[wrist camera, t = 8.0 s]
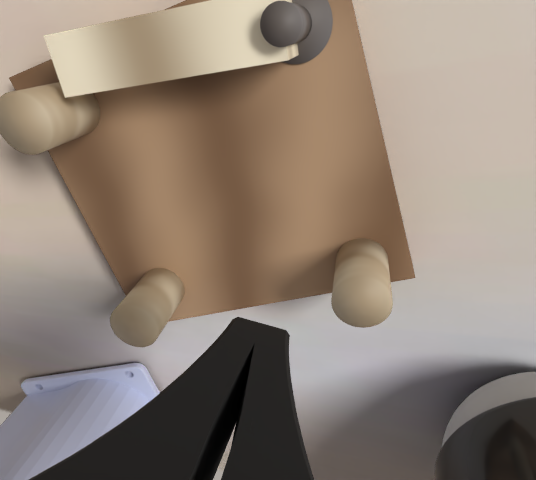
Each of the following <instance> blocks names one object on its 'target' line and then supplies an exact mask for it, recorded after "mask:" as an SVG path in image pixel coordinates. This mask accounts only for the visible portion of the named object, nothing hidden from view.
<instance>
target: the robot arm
mask: <svg viewBox="0 0 536 480" xmlns="http://www.w3.org/2000/svg"><path fill="white" fill-rule="evenodd" d="M289 337H290V335H289V334H288V332H287V331H286V330H283V329H279V328H276V327H272V326H269V325H265V324H262V323H258V322H254V321H251V320H247V319H244V318H240V317H237V318H235V319H233V320H232V321H231V323H230V324H229V325H228V327H227V328H226V329H225V330H224V332H223V333H222V334H221V335H220V336H219V337H218V339H217V340H216V341H215V342H214V343H213V344H212V345H211V346H210V347H209V348H208V349H207V350H206V351H205V352H204V353H203V354H202V355H201V356H200V357H199V358H198V359H197V360H196V361H195V362H194V363H193V364H192V365H191V366H190V367H189V368H188V369H187V370H186V371H185V372H184V373H183V374H182V375H180V376H179V377H178V378H177V379H176V380H175V381H173V382H172V383H171V384H170V385H169V386H168V387H166V388H165V389H164V390H163V391H162V392H161V393H160V392H159V390H158V388H157V387H156V385H155V383H154V381H153V379H152V378H151V376H150V374H149V372H148V370H147V369H146V367H145V366H144V365H143V364H141V363H131V364H124V365H117V366H110V367H104V368H97V369H90V370H83V371H76V372H69V373H63V374H56V375H49V376H42V377H35V378H28V379H25V380H24V381H23V382H22V384H21V388H22V389H23V391H24V392H25V394H26V395H27V396H26V397H25V398H24V400H23V401H22V402H21V403H20V404H19V405H18V406H17V407H16V408H15V410H14V411H13V412H12V413H11V414H10V415H9V416H8V417H7V418H6V420H5V421H4V422H3V423H2V424H1V425H0V480H213V478H214V476H215V473H216V471H217V468H218V466H219V463H220V461H221V458H222V456H223V454H224V451H225V449H226V446H227V444H228V441H229V439H230V436H231V434H232V432H233V429H234V427H235V424H236V427H235V431H234V436H233V441H232V446H231V450H230V454H229V457H228V460H227V463H226V466H225V469H224V472H223V476H222V478H221V480H314V478H313V475H312V472H311V468H310V465H309V462H308V458H307V454H306V451H305V447H304V443H303V439H302V435H301V431H300V426H299V422H298V417H297V413H296V408H295V402H294V396H293V390H292V383H291V376H290V365H289Z"/></svg>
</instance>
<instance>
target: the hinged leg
mask: <svg viewBox="0 0 536 480" xmlns="http://www.w3.org/2000/svg"><path fill="white" fill-rule="evenodd" d="M311 28H312V18H311V15H310V13H309V11H308V10H307V9H306V8H305V7H303V6H301V5H298V4H294V3H292V0H209V1H205V2H200V3H195V4H190V5H186V6H181V7H176V8H172V9H167V10H162V11H157V12H153V13H148V14H143V15H138V16H134V17H129V18H124V19H119V20H115V21H110V22H105V23H101V24H96V25H91V26H86V27H82V28H77V29H72V30H67V31H63V32H58V33H53V34H48V35H44V38H45V41H46V44H47V47H48V50H49V53H50V56H51V59H52V61H53V64H54V67H55V70H56V73H57V76H58V79H59V82H60V84H61V87H62V90H63V93H64V96H65V98H66V97H72V96H78V95H84V94H90V93H96V92H102V91H108V90H114V89H120V88H126V87H132V86H138V85H144V84H150V83H156V82H162V81H168V80H174V79H180V78H186V77H192V76H198V75H204V74H210V73H216V72H222V71H228V70H234V69H240V68H246V67H252V66H258V65H264V64H270V63H276V62H281V61H287V60H290V59H292V58H294V57H296V56H298V55H299V54H298V45H297V43H298V42H301V41H303V40H304V39H306V38H307V36H308V35H309V33H310V31H311Z"/></svg>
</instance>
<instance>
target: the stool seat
mask: <svg viewBox="0 0 536 480" xmlns="http://www.w3.org/2000/svg"><path fill="white" fill-rule="evenodd" d="M205 1H209V0H186V1H183V2H181V3H179V4H176V5H174V6H172V7H170V8H167V9H172V8H176V7H181V6H186V5H190V4H195V3H200V2H205ZM292 3H294V4H298V5H301V6H303V7H305V8H306V9H307V10H308V11H309V13H310V15H311V18H312V28H311V31H310V33H309V35H308V36H307V38H306V39H304V40H303V41H301V42H298V43H297V45H298V54H299V55H298V56H296V57H294V58H292V59H290V60H287V61H281V62H276V63H270V64H264V65H258V66H252V67H246V68H240V69H234V70H228V71H222V72H216V73H210V74H204V75H198V76H192V77H186V78H180V79H174V80H168V81H162V82H156V83H150V84H144V85H138V86H132V87H126V88H120V89H114V90H108V91H102V92H96V93H90V94H84V95H78V96H72V97H66V98H65V96H64V93H63V90H62V87H61V84H60V82H59V79H58V76H57V73H56V70H55V67H54V64H53V61H52V59H51V60H49V61H46V62H44V63H42V64H39V65H37V66H35V67H33V68H30V69H28V70H26V71H23V72H21V73H19V74H17V75H14V76H12V77H10V78H9V79H10V81H11V83H12V85H13V86H14V88H15V90H16V91H12V92H8V93H5V94H4V95H2V96H1V97H0V134H1V135H2V137H3V138H4V139H5V141H6V142H7V143H8V144H9V145H10V146H12V147H13V148H14V149H16V150H18V151H19V152H22V153H25V154H29V155H35V154H39V153H42V152H44V151H47V150H48V152H49V153H50V155H51V157H52V159H53V161H54V163H55V165H56V167H57V168H58V170H59V172H60V174H61V176H62V178H63V180H64V181H65V183H66V185H67V187H68V189H69V191H70V193H71V194H72V196H73V198H74V200H75V202H76V204H77V206H78V208H79V209H80V211H81V213H82V215H83V217H84V219H85V221H86V222H87V224H88V226H89V228H90V230H91V232H92V234H93V235H94V237H95V239H96V241H97V243H98V245H99V247H100V249H101V250H102V252H103V254H104V256H105V258H106V260H107V262H108V263H109V265H110V267H111V269H112V271H113V273H114V275H115V276H116V278H117V280H118V282H119V284H120V286H121V288H122V289H123V291H124V293H125V295H126V297H125V298H124V299H123V301H122V302H121V303H120V304H119V305H118V306H117V307H116V309H115V310H114V311H113V312H112V314H111V317H110V324H111V327H112V330H113V331H114V333H115V334H116V336H117V337H118V338H120V339H121V340H122V341H123V342H125V343H127V344H129V345H132V346H135V347H146V346H149V345H151V344H153V343H154V342H155V341H156V339H157V338H158V336H159V335H160V333H161V331H162V330H163V328H164V327H165V325H166V324H167V322H168V321H174V320H179V319H185V318H191V317H196V316H202V315H207V314H213V313H219V312H224V311H230V310H236V309H241V308H247V307H253V306H258V305H264V304H270V303H275V302H281V301H287V300H292V299H298V298H304V297H309V296H315V295H321V294H326V293H332V301H331V302H332V308H333V310H334V312H335V314H336V315H337V317H338V318H339V319H341V320H342V321H343V322H345V323H347V324H349V325H351V326H355V327H371V326H375V325H377V324H380V323H381V322H383V321H384V320H385V319H386V318H387V317H388V316H389V314H390V313H391V310H392V306H393V300H392V291H391V282H394V281H400V280H405V279H411V278H415V274H414V270H413V265H412V260H411V256H410V252H409V247H408V243H407V239H406V234H405V230H404V226H403V221H402V217H401V212H400V208H399V204H398V199H397V195H396V191H395V186H394V182H393V178H392V173H391V169H390V165H389V160H388V156H387V152H386V147H385V143H384V139H383V134H382V130H381V126H380V121H379V117H378V113H377V108H376V104H375V99H374V95H373V91H372V86H371V82H370V78H369V73H368V69H367V65H366V60H365V56H364V52H363V47H362V43H361V39H360V34H359V30H358V26H357V21H356V17H355V13H354V8H353V4H352V0H292ZM167 9H165V10H167Z"/></svg>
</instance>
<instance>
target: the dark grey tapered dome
mask: <svg viewBox="0 0 536 480" xmlns="http://www.w3.org/2000/svg"><path fill="white" fill-rule="evenodd" d="M434 478H435V480H536V372H524V373H518V374H513V375H509V376H505V377H502V378H499V379H496V380H494V381H491V382H489V383H487V384H485V385H483V386H482V387H480V388H479V389H477V390H475V391H474V392H473V393H472V394H470V395H469V396H468V397H467V398H466V399H465V400H464V401H463V402H462V403H461V404H460V405H459V407H458V408H457V409H456V411H455V412H454V414H453V415H452V417H451V419H450V421H449V423H448V425H447V428H446V431H445V434H444V437H443V442H442V448H441V450H440V452H439V454H438V457H437V460H436V464H435V471H434Z"/></svg>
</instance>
